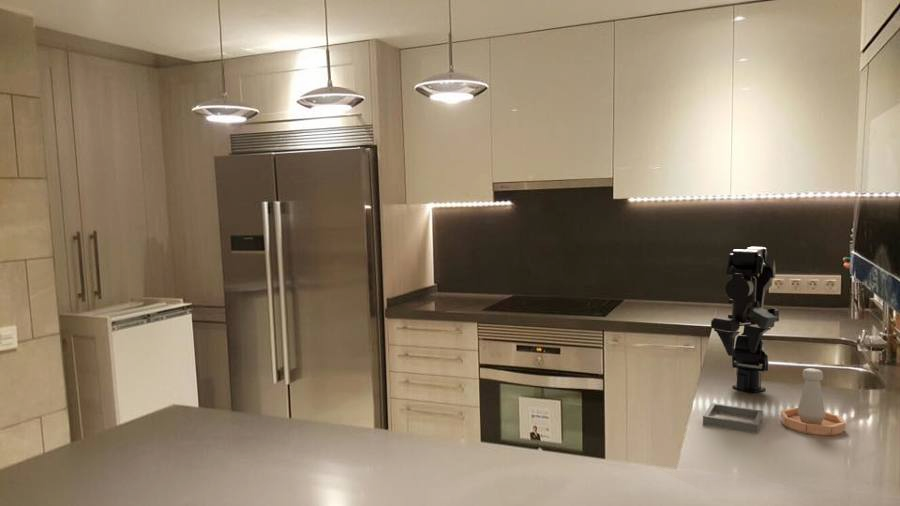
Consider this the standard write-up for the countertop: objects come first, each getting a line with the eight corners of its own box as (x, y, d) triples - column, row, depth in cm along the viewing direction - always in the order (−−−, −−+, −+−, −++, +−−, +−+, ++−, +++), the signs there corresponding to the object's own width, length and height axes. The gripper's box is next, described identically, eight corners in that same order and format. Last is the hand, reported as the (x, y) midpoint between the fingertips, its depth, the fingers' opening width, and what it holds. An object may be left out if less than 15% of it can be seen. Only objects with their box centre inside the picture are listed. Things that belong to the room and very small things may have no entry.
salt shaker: (803, 416, 156) (806, 364, 155) (828, 422, 151) (831, 369, 150) (792, 421, 152) (794, 368, 151) (817, 428, 148) (820, 373, 147)
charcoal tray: (711, 410, 163) (711, 402, 163) (762, 418, 157) (763, 410, 157) (702, 424, 153) (703, 416, 153) (757, 433, 147) (757, 425, 146)
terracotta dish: (802, 413, 160) (803, 405, 160) (855, 429, 149) (855, 420, 149) (769, 421, 154) (770, 413, 154) (821, 439, 143) (822, 429, 143)
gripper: (747, 302, 157) (745, 363, 158) (794, 298, 166) (791, 356, 167) (710, 296, 167) (708, 355, 167) (756, 293, 175) (754, 348, 176)
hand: (741, 354), depth 169 cm, fingers open, 9 cm apart
